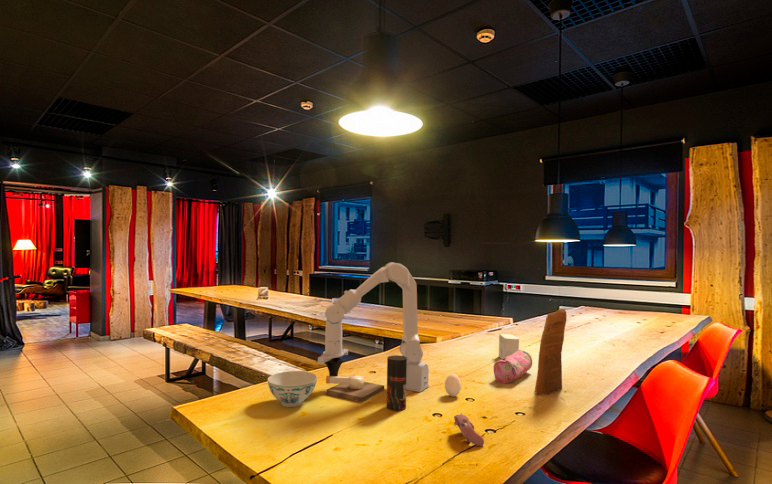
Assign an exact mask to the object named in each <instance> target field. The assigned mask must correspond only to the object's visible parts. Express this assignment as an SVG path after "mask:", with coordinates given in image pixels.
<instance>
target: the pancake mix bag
mask: <svg viewBox="0 0 772 484" xmlns="http://www.w3.org/2000/svg"><path fill="white" fill-rule="evenodd" d="M546 315H547V316H546V317H545V323H544V327H543V331H542V334H541V339H540V344H539V352H538V359H537V361H538V362H537V374H536V380H535V386H534V393H535V395H539V396H550V395H551V394H552V393H556V392H557V391H560V390H562V389H563V372H562V371H563V365H562V364H563V363H562V351H563V345H564V340H565V331H566V329H565V328H566V324H567V311H566V310H565V308H560V309H557V310H556V311H554V312H550V313H547V314H546Z"/></svg>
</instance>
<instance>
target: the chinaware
mask: <svg viewBox="0 0 772 484" xmlns="http://www.w3.org/2000/svg"><path fill="white" fill-rule="evenodd" d="M317 380H318V376H317V375H316V374H315V373H313V372H309V371H304V370H302V371H301V370H291V371H290V370H288V371H282V372H277V373H274V374H272V375H270V376H269V377H268V378H267V385H268V389H269V392H270V393H271V394H272V396H273V397H274V398H275V399H276V400H277V401H279V402H280V405H281V406H283V407H288V408H291V407H292V408H293V407H299V406H301V405H303V404H304V401H305V400H307V398H309V397H310V396H311V394H312V393H313V392H314V390H315V387H316V385H317Z"/></svg>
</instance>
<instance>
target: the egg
mask: <svg viewBox="0 0 772 484" xmlns="http://www.w3.org/2000/svg"><path fill="white" fill-rule="evenodd" d="M444 389H445V392H446V393H447V394H448V396H450V397H456V396H458V395H459V394H460V391H461V389H462V383H461V380H460V378H459V376H458V375H457V374H455V373H449V374H448V376H447V377H446V379H445V382H444Z"/></svg>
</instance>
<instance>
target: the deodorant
mask: <svg viewBox="0 0 772 484" xmlns="http://www.w3.org/2000/svg"><path fill="white" fill-rule="evenodd" d="M386 362H387V363H386V365H387V366H386V368H387V369H386V409H388V411H393V412H399V411H405V410H406V409H407V390H406V377H407V358H406V357H404V356H403V355H389V356H387V361H386Z"/></svg>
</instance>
